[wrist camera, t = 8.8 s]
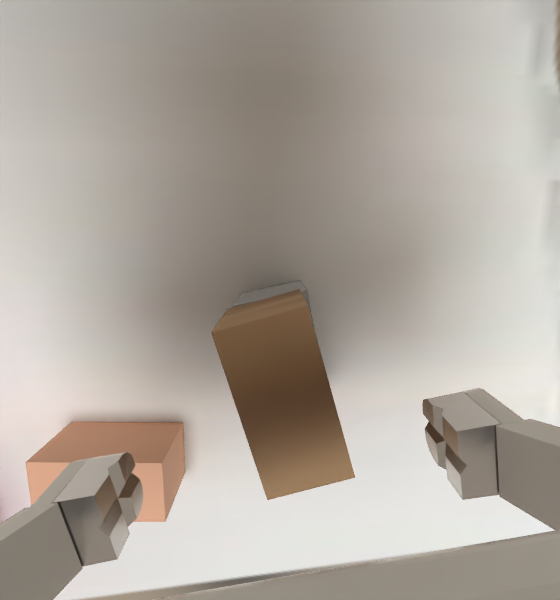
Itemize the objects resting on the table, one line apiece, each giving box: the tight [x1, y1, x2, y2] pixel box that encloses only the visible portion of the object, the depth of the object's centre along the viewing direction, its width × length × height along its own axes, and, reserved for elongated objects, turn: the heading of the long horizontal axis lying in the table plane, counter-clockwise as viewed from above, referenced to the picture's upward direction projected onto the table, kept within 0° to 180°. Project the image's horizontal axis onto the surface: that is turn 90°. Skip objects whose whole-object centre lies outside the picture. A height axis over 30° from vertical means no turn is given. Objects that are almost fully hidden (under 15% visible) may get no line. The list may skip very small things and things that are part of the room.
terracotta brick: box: [26, 422, 185, 522], centre depth 19 cm, size 7×4×4 cm, turn 89°
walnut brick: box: [211, 289, 355, 500], centre depth 14 cm, size 7×4×4 cm, turn 16°
